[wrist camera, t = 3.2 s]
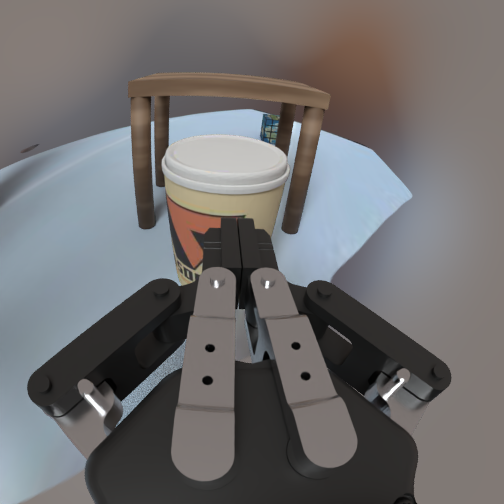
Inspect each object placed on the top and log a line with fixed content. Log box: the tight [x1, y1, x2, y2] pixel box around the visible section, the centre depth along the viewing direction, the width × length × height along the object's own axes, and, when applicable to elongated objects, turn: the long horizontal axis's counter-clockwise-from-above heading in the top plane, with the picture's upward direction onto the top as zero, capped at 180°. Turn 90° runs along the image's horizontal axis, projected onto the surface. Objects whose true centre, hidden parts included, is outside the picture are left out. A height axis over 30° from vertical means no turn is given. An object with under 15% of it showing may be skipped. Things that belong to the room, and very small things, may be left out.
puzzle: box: [260, 114, 280, 144], centre depth 62 cm, size 6×6×6 cm
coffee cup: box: [162, 134, 290, 285], centre depth 23 cm, size 9×9×12 cm
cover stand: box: [128, 73, 331, 234], centre depth 32 cm, size 13×19×17 cm
